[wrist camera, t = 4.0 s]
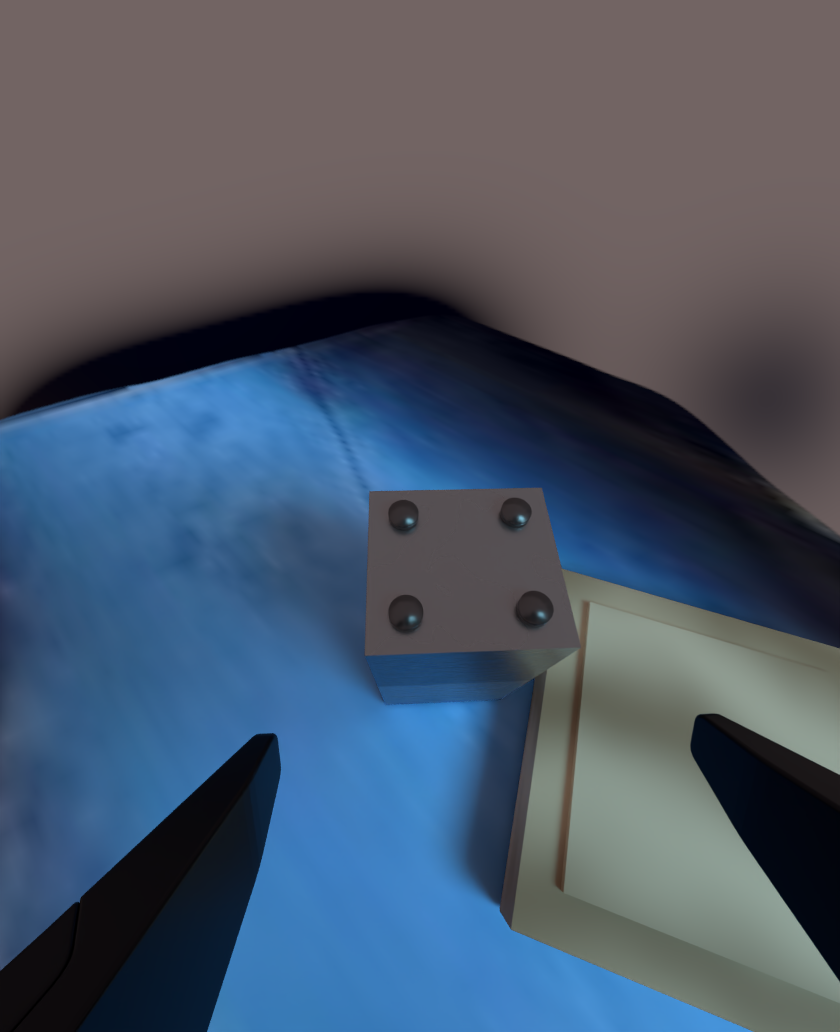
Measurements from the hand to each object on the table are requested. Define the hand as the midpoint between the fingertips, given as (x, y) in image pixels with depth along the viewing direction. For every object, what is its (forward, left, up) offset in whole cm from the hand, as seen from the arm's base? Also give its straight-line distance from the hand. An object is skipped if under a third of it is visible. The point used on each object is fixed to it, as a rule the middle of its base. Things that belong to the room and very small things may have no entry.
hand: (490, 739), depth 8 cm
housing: (+4, +2, -11) cm, 12 cm away
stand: (+4, -10, -11) cm, 15 cm away
